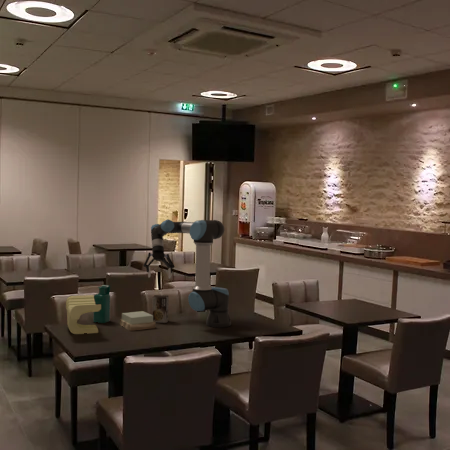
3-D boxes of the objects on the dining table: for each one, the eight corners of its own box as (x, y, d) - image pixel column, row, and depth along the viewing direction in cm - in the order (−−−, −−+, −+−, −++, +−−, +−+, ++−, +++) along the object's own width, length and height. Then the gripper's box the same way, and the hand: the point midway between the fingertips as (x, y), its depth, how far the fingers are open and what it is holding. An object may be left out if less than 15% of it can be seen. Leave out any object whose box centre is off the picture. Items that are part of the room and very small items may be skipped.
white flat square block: (153, 322, 327) (153, 315, 326) (131, 324, 319) (131, 317, 319) (142, 317, 338) (143, 311, 338) (121, 319, 330) (121, 313, 330)
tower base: (155, 329, 326) (155, 322, 326) (130, 332, 317) (130, 325, 317) (144, 323, 340) (144, 317, 339) (119, 326, 331) (119, 319, 331)
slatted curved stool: (65, 325, 325) (66, 296, 324) (93, 324, 331) (93, 295, 330) (70, 338, 297) (71, 305, 296) (100, 336, 303) (101, 304, 302)
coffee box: (168, 320, 346) (169, 295, 345) (166, 323, 340) (166, 297, 339) (154, 320, 347) (154, 294, 346) (151, 322, 341) (152, 296, 340)
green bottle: (103, 323, 333) (104, 287, 332) (91, 322, 336) (92, 286, 335) (112, 320, 343) (112, 285, 342) (100, 319, 345) (100, 284, 344)
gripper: (173, 250, 366) (176, 280, 357) (137, 248, 356) (139, 278, 346) (177, 246, 360) (180, 276, 351) (141, 243, 350) (142, 274, 340)
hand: (159, 277), depth 349 cm, fingers open, 13 cm apart
